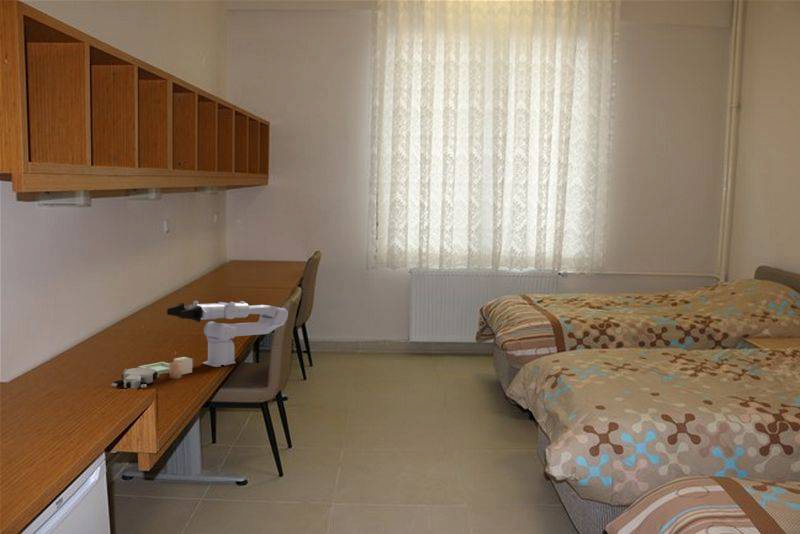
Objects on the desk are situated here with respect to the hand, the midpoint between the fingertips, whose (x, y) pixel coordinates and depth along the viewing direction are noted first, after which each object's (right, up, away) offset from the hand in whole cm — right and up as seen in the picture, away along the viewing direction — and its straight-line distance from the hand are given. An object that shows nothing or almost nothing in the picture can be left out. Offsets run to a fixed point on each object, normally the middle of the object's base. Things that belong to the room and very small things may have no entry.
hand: (174, 313), depth 249 cm
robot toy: (-8, -23, -15) cm, 29 cm away
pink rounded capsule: (+1, -22, -3) cm, 22 cm away
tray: (-7, -21, +5) cm, 23 cm away
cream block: (+2, -22, +4) cm, 22 cm away
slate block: (+1, -21, +10) cm, 23 cm away
